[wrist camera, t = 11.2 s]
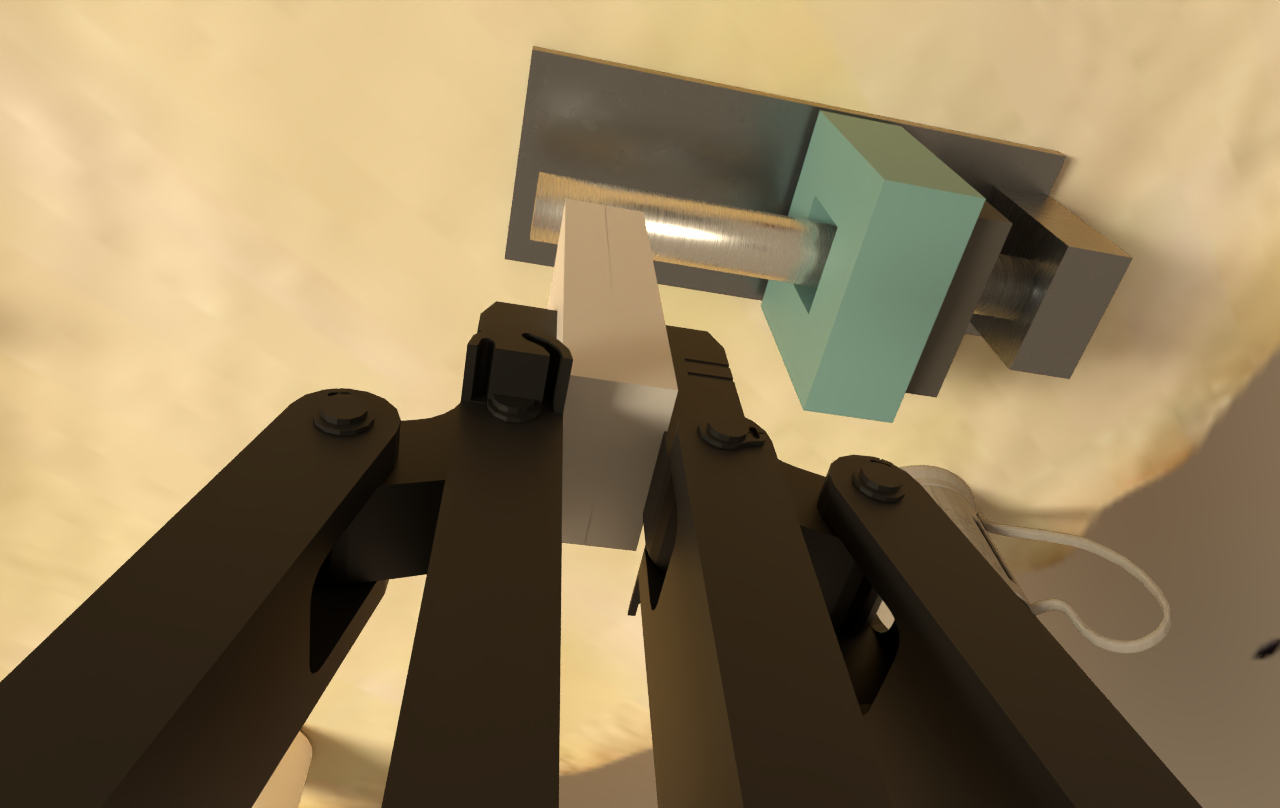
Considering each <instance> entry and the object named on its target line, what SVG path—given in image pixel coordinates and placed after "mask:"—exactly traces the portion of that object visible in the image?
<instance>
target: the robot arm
mask: <svg viewBox="0 0 1280 808" xmlns="http://www.w3.org/2000/svg"><path fill="white" fill-rule="evenodd" d="M643 523H644V533H645V542H646V545H645V549H644V553H643V556H642V560H641V564H640V568H639V571H638V575H637V579H636V582H635V586H634V590H633V594H632V597H631V601H630V605H629V610H628V615H631V616H635V615H636V611H637V608H638V604H640V603H641V614H642V626H643V637H644V649H645V661H646V672H647V684H648V695H649V707H650V719H651V730H652V742H653V754H654V765H655V777H656V787H657V800H658V808H1202V807H1201V806H1200V805H1199V803H1198V802H1197V801H1196V800H1195V799H1194V797H1193V796H1192V795H1191V794H1190V793H1189V792H1188V791H1187V789H1186V788H1185V787H1184V786H1183V785H1182V784H1181V783H1180V781H1179V780H1178V779H1177V778H1176V777H1175V776H1174V775H1173V773H1172V772H1171V771H1170V770H1169V769H1168V768H1167V767H1166V765H1165V764H1164V763H1163V762H1162V761H1161V760H1160V758H1159V757H1158V756H1157V755H1156V754H1155V753H1154V752H1153V750H1152V749H1151V748H1150V747H1149V746H1148V745H1147V744H1146V742H1145V741H1144V740H1143V739H1142V738H1141V737H1140V736H1139V735H1138V733H1137V732H1136V731H1135V730H1134V729H1133V728H1132V726H1131V725H1130V724H1129V723H1128V722H1127V721H1126V720H1125V718H1124V717H1123V716H1122V715H1121V714H1120V713H1119V711H1118V710H1117V709H1116V708H1115V707H1114V706H1113V705H1112V703H1111V702H1110V701H1109V700H1108V699H1107V698H1106V697H1105V695H1104V694H1103V693H1102V692H1101V691H1100V690H1099V689H1098V687H1097V686H1096V685H1095V684H1094V683H1093V682H1092V681H1091V679H1090V678H1089V677H1088V676H1087V675H1086V674H1085V672H1084V671H1083V670H1082V669H1081V668H1080V667H1079V666H1078V665H1077V663H1076V662H1075V661H1074V660H1073V659H1072V658H1071V656H1070V655H1069V654H1068V653H1067V652H1066V651H1065V650H1064V648H1063V647H1062V646H1061V645H1060V644H1059V643H1058V642H1057V640H1056V639H1055V638H1054V637H1053V636H1052V635H1051V634H1050V632H1049V631H1048V630H1047V629H1046V628H1045V627H1044V626H1043V624H1042V623H1041V622H1040V621H1039V620H1038V619H1037V617H1036V616H1035V615H1034V614H1033V613H1032V612H1031V611H1030V609H1029V608H1028V607H1027V606H1026V605H1025V604H1024V603H1023V601H1022V600H1021V599H1020V598H1019V597H1018V596H1017V594H1016V593H1015V592H1014V591H1013V590H1012V589H1011V588H1010V586H1009V585H1008V584H1007V583H1006V582H1005V581H1004V580H1003V578H1002V577H1001V576H1000V575H999V574H998V573H997V572H996V570H995V569H994V568H993V567H992V566H991V565H990V564H989V562H988V561H987V560H986V559H985V558H984V557H983V556H982V554H981V553H980V552H979V551H978V550H977V549H976V547H975V546H974V545H973V544H972V543H971V542H970V541H969V539H968V538H967V537H966V536H965V535H964V534H963V533H962V531H961V530H960V529H959V528H958V527H957V526H956V525H955V523H954V522H953V521H952V520H951V519H950V518H949V517H948V515H947V514H946V513H945V512H944V511H943V510H942V508H941V507H940V506H939V505H938V504H937V503H936V502H935V500H934V499H933V498H932V497H931V496H930V495H929V494H928V492H927V491H926V490H925V489H924V488H923V487H922V486H921V484H920V483H919V482H917V481H916V480H915V479H914V478H913V477H912V476H911V475H909V474H908V473H907V472H906V471H904V470H902V469H900V468H898V467H897V466H895V465H893V464H892V463H891V462H888V461H886V460H883V459H882V460H880V458H876V457H872V456H860V455H850V456H844V457H839V458H838V459H837V460H835V461H834V462H833V463H831V465H830V468H829V471H828V473H827V476H826V477H824V476H821V475H818V474H815V473H812V472H809V471H806V470H803V469H800V468H797V467H795V466H792V465H790V464H787V463H785V462H782V461H781V460H779V459H778V458H777V455H776V452H775V449H774V446H773V443H772V441H771V439H770V438H769V436H768V435H767V433H766V431H765V430H763V429H762V428H761V427H760V426H758V425H757V424H756V423H754V422H753V421H751V420H749V419H747V418H745V417H744V413H743V410H742V407H741V403H740V400H739V397H738V393H737V390H736V387H735V383H734V382H733V377H732V373H731V370H730V368H729V363H728V360H727V357H726V354H725V350H724V348H723V347H722V346H721V345H720V344H719V343H718V342H717V341H716V340H715V339H714V338H713V337H712V336H711V335H710V334H709V333H708V332H706V331H700V330H693V329H687V328H681V327H674V326H668V325H665V320H664V315H663V310H662V305H661V300H660V295H659V289H658V284H657V279H656V274H655V269H654V264H653V258H652V253H651V248H650V243H649V238H648V233H647V227H646V222H645V217H644V212H640V211H634V210H629V209H623V208H617V207H611V206H606V205H600V204H594V203H588V202H583V201H577V200H571V199H565V205H564V211H563V217H562V223H561V229H560V235H559V241H558V247H557V253H556V260H555V266H554V272H553V278H552V284H551V290H550V296H549V302H548V308H547V309H543V308H536V307H530V306H523V305H517V304H510V303H504V302H497V301H496V302H495V303H494V304H493V305H491V306H490V307H489V308H487V309H486V310H485V311H484V312H482V313H481V315H480V320H479V326H478V331H477V334H475V335H473V337H472V338H471V340H470V341H469V343H468V345H467V353H466V362H465V370H464V379H463V388H462V396H461V403H460V404H458V405H457V406H456V407H455V408H454V409H452V410H450V411H449V412H447V413H445V414H442V415H439V416H435V417H432V418H427V419H419V420H408V421H401V420H400V417H399V414H398V411H397V409H396V408H395V407H394V406H393V405H392V404H390V403H389V402H388V401H387V400H386V399H384V398H381V397H379V396H376V395H374V394H372V393H369V392H365V391H359V390H353V389H343V388H340V389H326V390H321V391H318V392H314V393H310V394H306V395H304V396H303V397H301V398H299V399H298V400H296V401H295V402H293V403H291V404H290V405H289V406H288V407H287V408H286V409H285V410H284V411H283V412H282V413H281V414H280V415H279V416H278V417H277V418H276V419H275V420H274V421H273V422H271V423H270V424H269V425H268V426H267V427H266V428H265V429H264V430H263V431H262V432H261V433H260V434H259V435H258V436H257V437H256V438H255V439H254V440H253V441H252V442H251V443H250V444H249V445H247V446H246V447H245V448H244V449H243V450H242V451H241V452H240V453H239V454H238V455H237V456H236V457H235V458H234V459H233V460H232V461H231V462H230V463H229V464H228V465H227V466H226V467H225V468H223V469H222V470H221V471H220V472H219V473H218V474H217V475H216V476H215V477H214V478H213V479H212V480H211V481H210V482H209V483H208V484H207V485H206V486H205V487H204V488H203V489H202V490H201V491H199V492H198V493H197V494H196V495H195V496H194V497H193V498H192V499H191V500H190V501H189V502H188V503H187V504H186V505H185V506H184V507H183V508H182V509H181V510H180V511H179V512H178V513H177V514H175V515H174V516H173V517H172V518H171V519H170V520H169V521H168V522H167V523H166V524H165V525H164V526H163V527H162V528H161V529H160V530H159V531H158V532H157V533H156V534H155V535H154V536H153V537H151V538H150V539H149V540H148V541H147V542H146V543H145V544H144V545H143V546H142V547H141V548H140V549H139V550H138V551H137V552H136V553H135V554H134V555H133V556H132V557H131V558H130V559H129V560H127V561H126V562H125V563H124V564H123V565H122V566H121V567H120V568H119V569H118V570H117V571H116V572H115V573H114V574H113V575H112V576H111V577H110V578H109V579H108V580H107V581H106V582H105V583H103V584H102V585H101V586H100V587H99V588H98V589H97V590H96V591H95V592H94V593H93V594H92V595H91V596H90V597H89V598H88V599H87V600H86V601H85V602H84V603H83V604H82V605H81V606H79V607H78V608H77V609H76V610H75V611H74V612H73V613H72V614H71V615H70V616H69V617H68V618H67V619H66V620H65V621H64V622H63V623H62V624H61V625H60V626H59V627H58V628H57V629H55V630H54V631H53V632H52V633H51V634H50V635H49V636H48V637H47V638H46V639H45V640H44V641H43V642H42V643H41V644H40V645H39V646H38V647H37V648H36V649H35V650H34V651H33V652H31V653H30V654H29V655H28V656H27V657H26V658H25V659H24V660H23V661H22V662H21V663H20V664H19V665H18V666H17V667H16V668H15V669H14V670H13V671H12V672H11V673H10V674H9V675H7V676H6V677H5V678H4V679H3V680H2V681H1V682H0V808H252V807H253V805H254V803H255V802H256V800H257V799H258V797H259V795H260V794H261V792H262V790H263V789H264V787H265V786H266V784H267V782H268V781H269V779H270V778H271V776H272V774H273V773H274V771H275V770H276V768H277V766H278V765H279V763H280V761H281V760H282V758H283V757H284V755H285V753H286V752H287V750H288V749H289V747H290V745H291V744H292V742H293V741H294V739H295V737H296V736H297V734H298V733H299V731H300V729H301V728H302V726H303V724H304V723H305V721H306V720H307V718H308V716H309V715H310V713H311V712H312V710H313V708H314V707H315V705H316V704H317V702H318V700H319V699H320V697H321V695H322V694H323V692H324V691H325V689H326V687H327V686H328V684H329V683H330V681H331V679H332V678H333V676H334V675H335V673H336V671H337V670H338V668H339V666H340V665H341V663H342V662H343V660H344V658H345V657H346V655H347V654H348V652H349V650H350V649H351V647H352V646H353V644H354V642H355V641H356V639H357V638H358V636H359V634H360V633H361V631H362V629H363V628H364V626H365V625H366V623H367V621H368V620H369V618H370V617H371V615H372V613H373V612H374V610H375V609H376V607H377V605H378V604H379V602H380V600H381V599H382V597H383V596H384V594H385V591H386V588H387V584H388V581H389V579H395V578H402V577H409V576H417V575H424V574H427V577H426V582H425V587H424V592H423V598H422V603H421V608H420V613H419V618H418V623H417V628H416V633H415V638H414V644H413V649H412V654H411V659H410V664H409V669H408V674H407V679H406V685H405V690H404V695H403V700H402V705H401V710H400V715H399V720H398V726H397V731H396V736H395V741H394V746H393V751H392V756H391V761H390V767H389V772H388V777H387V782H386V787H385V792H384V797H383V802H382V807H381V808H559V734H560V646H561V557H562V543H570V544H579V545H588V546H597V547H605V548H614V549H623V550H632V551H636V549H637V545H638V541H639V538H640V534H641V530H642V526H643ZM882 601H883V602H884V603H885V604H886V606H887V607H888V609H889V610H890V612H891V613H892V615H893V617H894V619H895V620H894V622H893V624H892V626H891V627H890V628H889V629H888V628H887V627H886V626H885V625H884V624H883V623H882V621H881V620H880V618H879V617H878V615H877V614H876V613H877V611H878V609H879V607H880V605H881V603H882Z"/></svg>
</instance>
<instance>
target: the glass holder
mask: <svg viewBox="0 0 1280 808" xmlns="http://www.w3.org/2000/svg"><path fill="white" fill-rule="evenodd" d="M900 469H902V470H904V471H906V472H907V473H908V474H909V475H911V476H912V477H913V478H914V479H915V480H916V481H917V482H919V483H920V484H921V486H922V487H923V488H924V489H925V490H926V491H927V492H928V494H929V495H930V496H931V497H932V498H933V499H934V500H935V502H936V503H937V504H938V505H939V506H940V507H941V508H942V510H943V511H944V512H945V513H946V514H947V515H948V517H949V518H950V519H951V520H952V521H953V522H954V523H955V525H956V526H957V527H958V528H959V529H960V530H961V531H962V533H963V534H964V535H965V536H966V537H967V538H968V539H969V541H970V542H971V543H972V544H973V545H974V546H975V547H976V549H977V550H978V551H979V552H980V553H981V554H982V556H983V557H984V558H985V559H986V560H987V561H988V562H989V564H990V565H991V566H992V567H993V568H994V569H995V570H996V572H997V573H998V574H999V575H1000V576H1001V577H1002V578H1003V580H1004V581H1005V582H1006V583H1007V584H1008V585H1009V586H1010V588H1011V589H1012V590H1013V591H1014V592H1015V593H1016V594H1017V596H1018V597H1019V598H1020V599H1021V600H1022V601H1023V603H1024V604H1025V605H1026V606H1027V607H1028V608H1029V609H1030V611H1031V612H1032V613H1033V614H1034V615H1035V616H1036V615H1038V614H1041V613H1044V612H1047V611H1054V610H1058V611H1062V612H1064V613H1065V614H1066V615H1067V616H1068V617H1069V618H1070V620H1071V621H1072V623H1073V624H1074V626H1075V627H1076V628H1077V629H1078V631H1079V632H1080V633H1081V634H1082V635H1083V636H1084V637H1085V638H1086V639H1088V640H1089V641H1091V642H1092V643H1093V644H1095V645H1096V646H1098V647H1101V648H1103V649H1106V650H1109V651H1113V652H1119V653H1134V652H1141V651H1144V650H1146V649H1149V648H1151V647H1153V646H1155V645H1156V644H1157V643H1159V642H1160V641H1161V640H1163V639H1164V638H1165V636H1166V635H1167V633H1168V631H1169V630H1170V628H1171V625H1172V621H1171V607H1170V605H1169V603H1168V602H1167V600H1166V598H1165V596H1164V594H1163V593H1162V591H1161V590H1160V588H1159V587H1158V586H1157V585H1156V584H1155V583H1154V582H1153V581H1152V580H1151V579H1150V577H1149V576H1148V575H1147V574H1146V573H1145V572H1144V571H1143V570H1142V569H1140V568H1139V567H1138V566H1136V565H1135V564H1134V563H1132V562H1131V561H1129V560H1128V559H1127V558H1126V557H1124V556H1122V555H1120V554H1119V553H1117V552H1115V551H1113V550H1111V549H1109V548H1107V547H1106V546H1104V545H1101V544H1099V543H1097V542H1094V541H1092V540H1090V539H1087V538H1084V537H1079V536H1075V535H1070V534H1064V533H1058V532H1052V531H1046V530H1040V529H1032V528H1024V527H1016V526H1009V525H1003V524H998V523H993V522H989V521H987V520H986V519H985V518H984V516H983V515H982V514H981V513H979V512H978V514H977V515H976V513H975V503H974V498H973V495H972V493H971V491H970V489H969V487H968V486H967V485H966V483H965V482H964V481H963V480H962V479H961V478H959V477H958V476H957V475H955V474H954V473H952V472H949V471H947V470H945V469H942V468H938V467H934V466H925V465H917V466H906V467H901V468H900ZM986 530H987V531H988V532H991V533H995V534H1000V535H1004V536H1010V537H1017V538H1024V539H1031V540H1040V541H1047V542H1052V543H1058V544H1063V545H1068V546H1072V547H1076V548H1080V549H1084V550H1087V551H1089V552H1092V553H1094V554H1097V555H1099V556H1101V557H1103V558H1105V559H1107V560H1109V561H1111V562H1113V563H1115V564H1117V565H1119V566H1121V567H1122V568H1124V569H1125V570H1126V571H1128V572H1129V573H1130V574H1132V575H1133V576H1134V577H1136V578H1137V579H1138V580H1140V581H1141V582H1142V583H1143V584H1144V586H1145V587H1146V588H1147V589H1148V590H1149V591H1150V592H1151V593H1152V594H1153V595H1154V596H1155V598H1156V599H1157V601H1158V602H1159V604H1160V606H1161V608H1162V610H1163V615H1164V619H1163V621H1162V622H1161V624H1160V625H1159V627H1158V628H1157V629H1156V630H1154V631H1153V632H1151V633H1150V634H1149V635H1147V636H1145V637H1142V638H1140V639H1138V640H1129V641H1121V640H1114V639H1110V638H1107V637H1104V636H1102V635H1099V634H1097V633H1096V632H1094V631H1093V630H1092V629H1090V628H1089V627H1088V626H1087V625H1086V624H1085V623H1084V622H1083V621H1082V620H1081V619H1080V617H1079V616H1078V615H1077V613H1076V612H1075V611H1074V610H1073V608H1072V607H1071V606H1070V605H1069V604H1067V603H1066V602H1064V601H1062V600H1058V599H1047V600H1042V601H1039V602H1036V603H1033V604H1031V605H1030V603H1029V601H1028V600H1027V598H1026V596H1025V595H1024V593H1023V592H1022V590H1021V588H1020V586H1019V585H1018V583H1017V581H1016V580H1015V578H1014V576H1013V575H1012V573H1011V571H1010V570H1009V568H1008V567H1007V565H1006V563H1005V562H1004V560H1003V558H1002V557H1001V555H1000V553H999V552H998V550H997V548H996V547H995V545H994V543H993V542H992V540H991V538H990V537H989V535H988V533H987V532H986ZM876 614H877V615H878V617H879V618H880V620H881V621H882V623H883V624H884V625H885V626H886V627H887V628H888V629H889V628H890V627H891V626H892V624H893V622H894V620H895V619H894V617H893V615H892V613H891V612H890V610H889V609H888V607H887V606H886V604H885V603H884V602H883V601H882V603H881V605H880V607H879V609H878V611H877V613H876Z"/></svg>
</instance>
